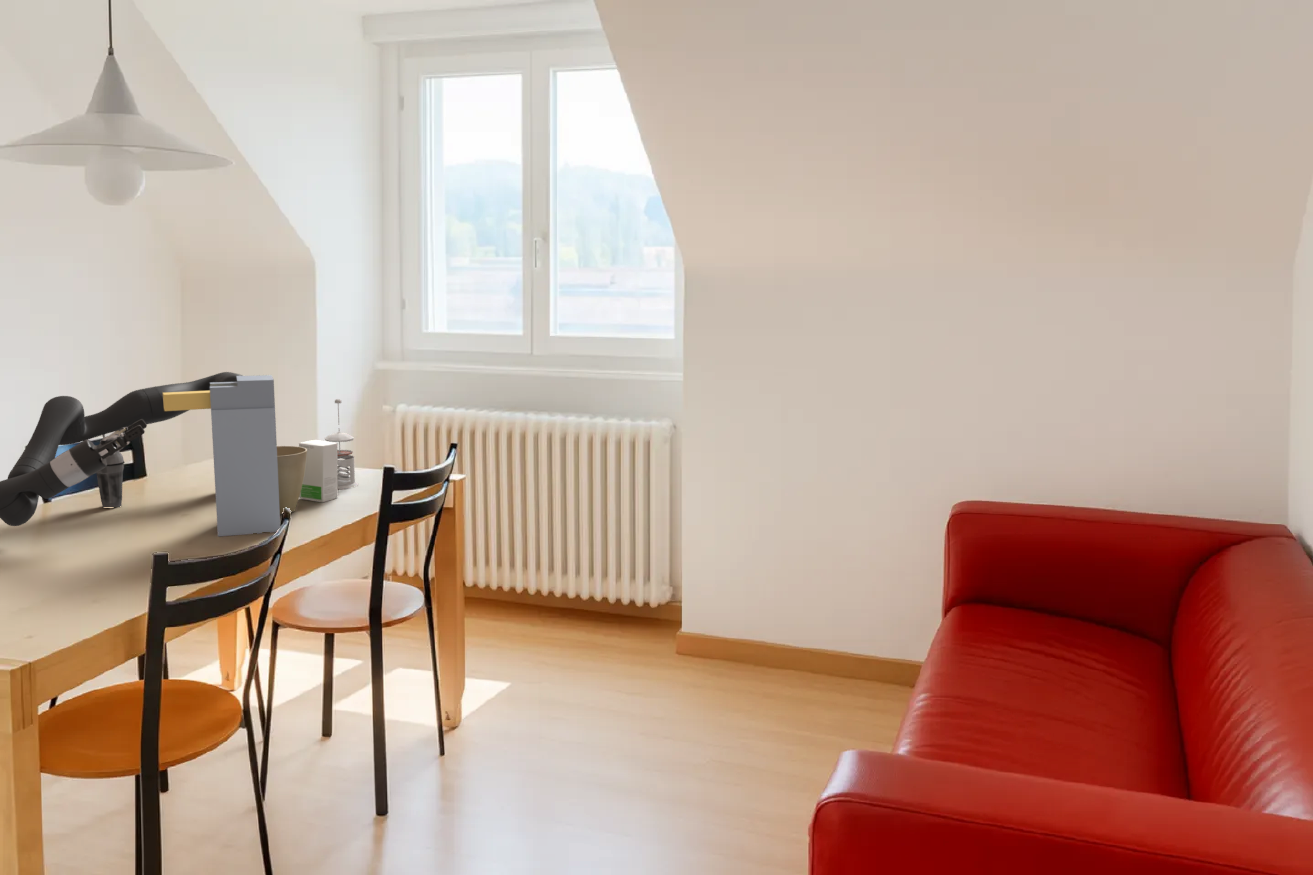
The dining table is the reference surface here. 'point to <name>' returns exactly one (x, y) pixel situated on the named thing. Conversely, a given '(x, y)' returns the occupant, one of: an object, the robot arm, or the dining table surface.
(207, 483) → the dining table surface
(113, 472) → the beverage cup
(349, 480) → the french press
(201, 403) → the bar
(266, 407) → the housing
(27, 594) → the dining table surface
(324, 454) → the skincare box
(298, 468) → the plant pot
